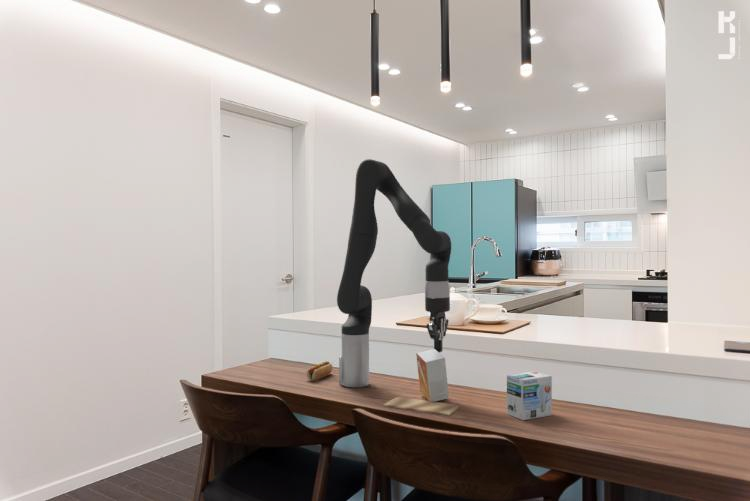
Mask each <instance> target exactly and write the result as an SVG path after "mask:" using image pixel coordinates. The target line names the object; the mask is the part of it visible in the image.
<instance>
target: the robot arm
mask: <svg viewBox="0 0 750 501" xmlns="http://www.w3.org/2000/svg"><path fill="white" fill-rule="evenodd" d="M354 184H355V186H354V187H355V188H354V201H353V208H352V217H351V224H350V229H349V233H348V234H349V235H348V241H347V249H346V256H345V260H344V266H343V272H342V275H341V278H340V283H339V287H338V291H337V295H336V304H337V308H338V310H339V311H340V312H341V313H343V314H344V315H348V316H347V319H346V321H345V322H344V323H343V324H342V325H341V355H340V356H338V361H339V362H338V365H339V368H338V369H339V370H338V372H339V375H338V376H339V380H338V381H339V382H338V384H339V385H340V386H343V387H346V388H364V387H368V386H369V385H370V326H371V324H372V316H373V315H372V312H373V300H372V299H373V298H372V293H371V291H370V290H369V288H368V287H367V286H364V285H361V284H362V279H363V274H364V272H365V269H366V267H367V266H368V264H369V262H370V260H371V259H372V257H373V255H374V252H375V249H376V247H377V246H376V245H377V240H378V239H377V238H378V234H379V233H378V232H379V231H378V230H379V229H378V228H379V227H378V220H377V215H376V210H375V200H376V199H375V198H376V192H377V191H378V192H380V193H381V194H383V196H385V197H386V198H387V200H388V201H389V202H390V204H391V205H392V207H393V209H394V211H395V213H396V215H397V216H398V218H399V220H400V221H402V223H403V224H404V225H405V227H407V229H409V231H411V233H412V235H413V237H414V239H415V240H416V241H417V243H418V245H419V246H420V248H421V249H422V250H424V251H425V252H426V253H428V254H430V258H429V262H427V263H426V265H425V286H424V300H425V301H424V303H425V304H424V308H425V311H426V312H428V313H430V315H429V323H426V329H427V332H428V335H429V337H430V339H432V340H433V349H435V350H437V351H438V352H439V353H442V352H443V340H444V337H446V334H447V331H448V330H447V329H448V326H449V321H450V320H449V318H448V319H447V318H446V312H449V311H451V307H450V306H451V304H450V303H451V302H450V301H451V300H450V299H451V297H450V296H451V294H450V284H449V282H450V281H449V264H450V258H451V254H452V240H451V237H450V236H449V233H447V232H445V231H442V230H441V231H440V230H439V231H438V230H436V229H435V228H434V227H433V226H432V224H431V220H430V219H431V218H429V216H428V215H427V214H426V213H425V212H424V211H423V209H422V208H421V207H420V206H419V205H418V204H417V203H416V202H415V201H414V200H413V199H412V198H411V197H410V195H409V194H408V193H407V191H406V190H405V189H404V188H403V187H402V185H401V184H400V182H399V180H398V179H397V178H396V176H395V175H394V173H393V171H392V170H391V169H390V167H389V166H388V165H387V164H386V163H384V162H382V161H379V160H375V159H371V158H370V159H369V158H367V159H364V160H362V161H361V162H360V163H359V165H358V166H357V168H356V173H355V183H354Z"/></svg>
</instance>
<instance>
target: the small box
mask: <svg viewBox="0 0 750 501" xmlns="http://www.w3.org/2000/svg"><path fill="white" fill-rule="evenodd" d="M416 364H417V373H418V383H419V390H420V393H421V394H422V395H423V396H424V397H425V398H426V401H432V402H438V401H442V400H446V399H449V398H450V396H449V386H448V376H447V375H448V374H447V364H446V358H445V356H444V355H443V354H441V352H438V351H437V350H435V349H434V348H432V349H428V350H424V351H419V352H416Z"/></svg>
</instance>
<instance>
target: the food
mask: <svg viewBox="0 0 750 501" xmlns="http://www.w3.org/2000/svg"><path fill="white" fill-rule="evenodd" d="M332 371H333V364H332V363H331V362H330V361H323V362H321V363H318V364H316V365H314V366H313V367H309V368H308V369H307V370H306V373H305V374H306V377H307V379H308V380H309V381H310V382H312V381H313V382H315V381H318V380H320V379H323V378H325V377H327V376H329V375H330V374H331V373H332Z"/></svg>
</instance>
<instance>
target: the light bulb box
mask: <svg viewBox="0 0 750 501" xmlns="http://www.w3.org/2000/svg"><path fill="white" fill-rule="evenodd" d="M552 379H553V376H552V375H548V374H545V373H542V372H538V371H535V370H534V371H528V372H520V373H514V374H507V375H506V414H507V415H508V416H511V417H513V418H514V417H515V418H516V419H519V420H521V421H526V420H531V419H537V418H545V417H550V416H552V412H553V411H552V404H553V403H552V400H553V399H552V398H553V397H552V396H553V395H552V394H553V393H552V392H553V390H552V387H553V384H552V381H553V380H552Z"/></svg>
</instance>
